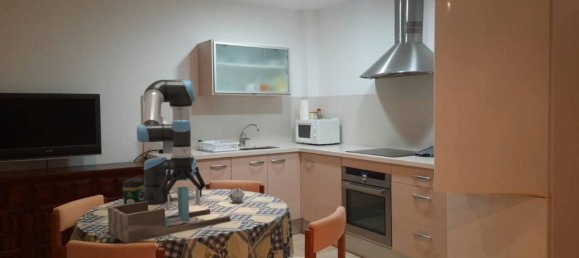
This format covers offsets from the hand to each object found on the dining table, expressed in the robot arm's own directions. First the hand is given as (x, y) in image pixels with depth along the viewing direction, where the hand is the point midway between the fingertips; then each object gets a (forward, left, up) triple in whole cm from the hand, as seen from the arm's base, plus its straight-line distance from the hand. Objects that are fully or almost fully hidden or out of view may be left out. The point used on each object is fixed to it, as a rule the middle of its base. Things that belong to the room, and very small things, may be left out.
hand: (183, 207), depth 174 cm
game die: (-20, +39, -7) cm, 44 cm away
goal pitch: (0, -5, -7) cm, 9 cm away
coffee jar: (-22, -13, -7) cm, 27 cm away
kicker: (0, -5, -7) cm, 9 cm away
